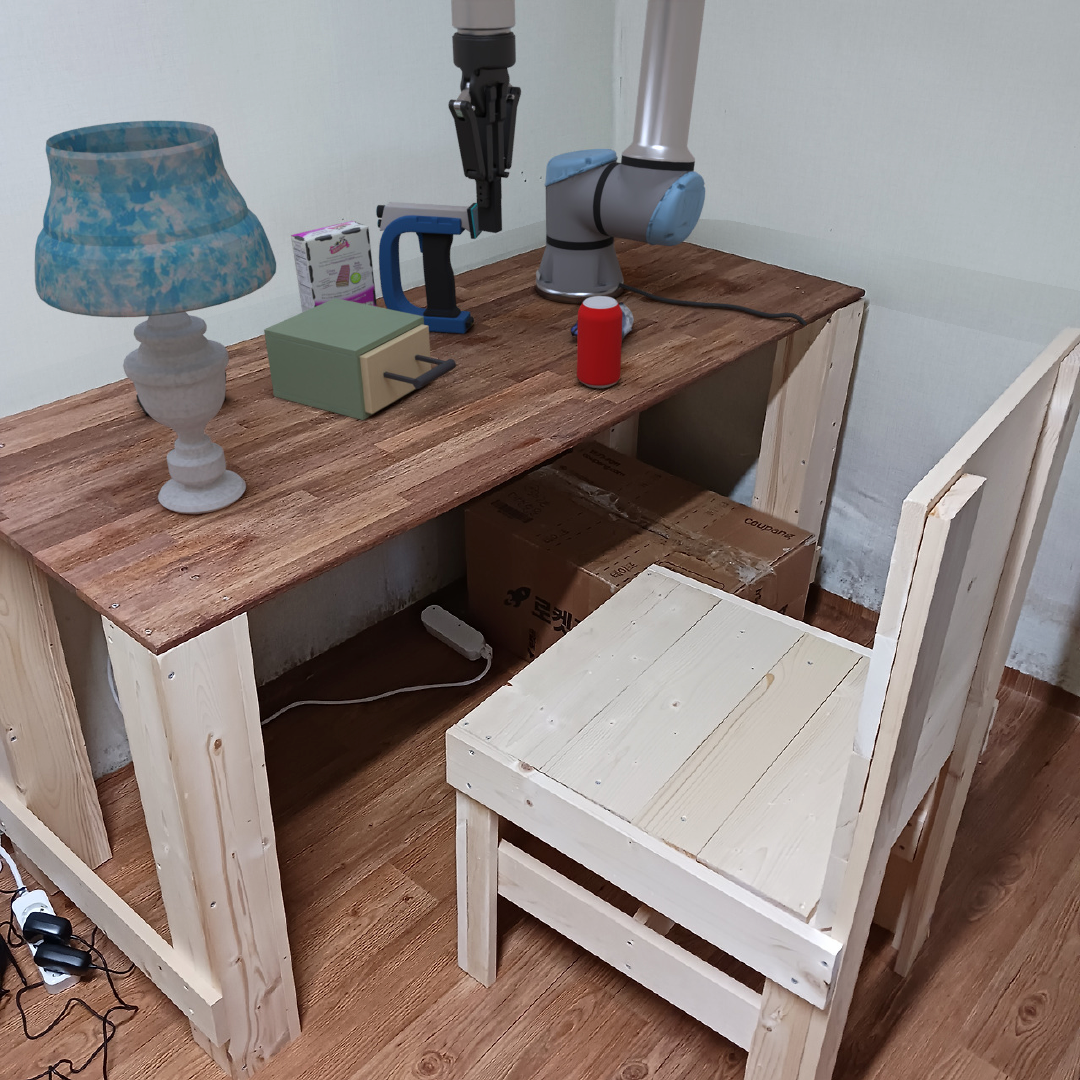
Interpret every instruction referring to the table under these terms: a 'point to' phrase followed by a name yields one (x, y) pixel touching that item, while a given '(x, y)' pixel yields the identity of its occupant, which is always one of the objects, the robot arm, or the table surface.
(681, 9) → the robot arm
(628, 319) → the snack package
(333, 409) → the cabinet
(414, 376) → the drawer
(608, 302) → the beverage can
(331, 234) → the candy bar box
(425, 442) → the table surface
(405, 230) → the handheld scanner
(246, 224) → the table lamp
